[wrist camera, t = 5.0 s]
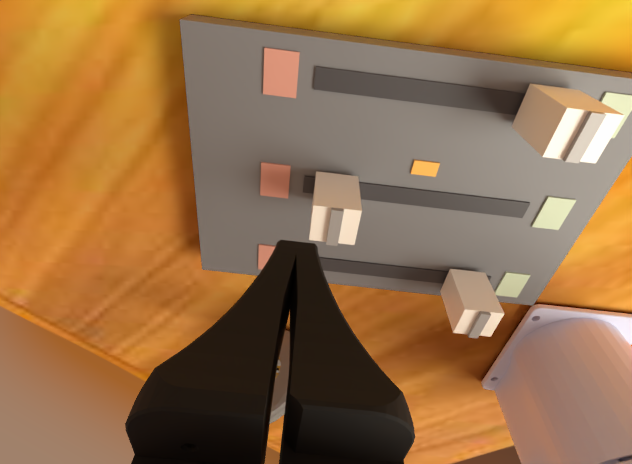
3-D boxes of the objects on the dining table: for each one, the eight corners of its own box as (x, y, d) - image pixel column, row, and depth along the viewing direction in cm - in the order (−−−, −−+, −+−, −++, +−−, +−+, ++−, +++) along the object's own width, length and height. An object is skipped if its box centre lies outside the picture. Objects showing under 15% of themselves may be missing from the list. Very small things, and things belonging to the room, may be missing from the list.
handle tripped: (351, 208, 19) (354, 247, 16) (312, 203, 19) (308, 242, 16) (358, 176, 18) (362, 213, 15) (316, 171, 18) (313, 207, 15)
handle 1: (473, 295, 22) (491, 339, 20) (440, 291, 22) (454, 335, 20) (485, 272, 21) (506, 316, 19) (449, 268, 21) (466, 312, 18)
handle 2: (556, 132, 16) (598, 166, 14) (511, 126, 16) (545, 159, 14) (578, 89, 15) (628, 117, 13) (530, 83, 15) (570, 109, 13)
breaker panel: (523, 288, 24) (533, 306, 23) (209, 253, 23) (201, 270, 22) (653, 75, 16) (680, 85, 15) (191, 14, 16) (178, 19, 14)
